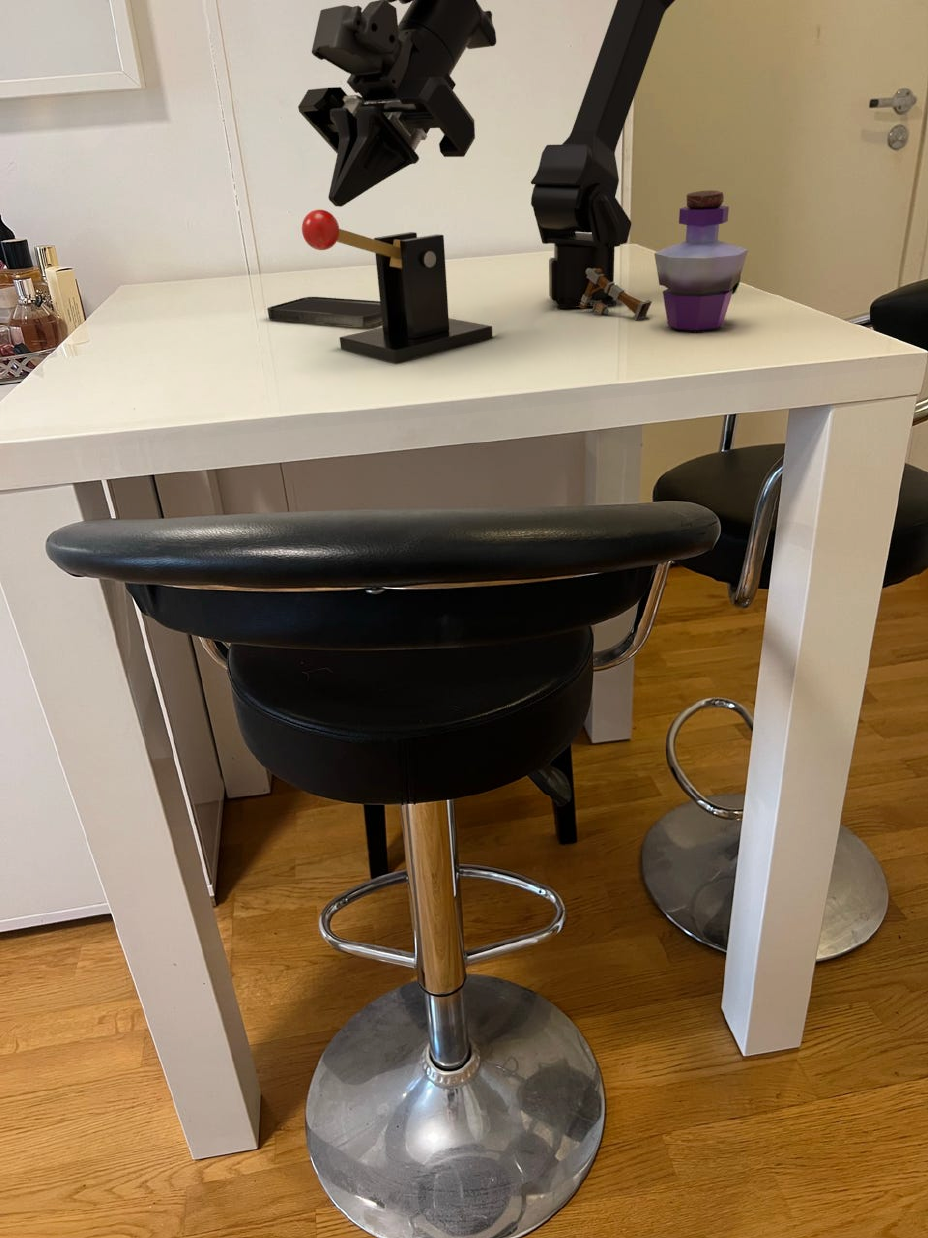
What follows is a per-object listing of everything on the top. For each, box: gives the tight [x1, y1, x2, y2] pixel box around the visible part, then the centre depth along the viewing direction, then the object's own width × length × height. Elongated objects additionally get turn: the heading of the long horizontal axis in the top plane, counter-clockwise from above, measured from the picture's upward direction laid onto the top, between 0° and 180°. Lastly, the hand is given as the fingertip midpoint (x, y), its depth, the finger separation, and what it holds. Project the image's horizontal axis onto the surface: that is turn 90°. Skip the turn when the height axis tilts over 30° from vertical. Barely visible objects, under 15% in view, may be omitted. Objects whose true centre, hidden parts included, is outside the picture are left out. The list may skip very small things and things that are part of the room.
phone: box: [266, 296, 382, 328], centre depth 100 cm, size 8×1×15 cm
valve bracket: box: [339, 231, 494, 364], centre depth 85 cm, size 12×9×10 cm
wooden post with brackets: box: [578, 268, 653, 321], centre depth 93 cm, size 2×8×4 cm, turn 48°
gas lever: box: [301, 209, 402, 270], centre depth 79 cm, size 13×3×3 cm, turn 131°
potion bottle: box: [654, 189, 749, 334], centre depth 84 cm, size 9×9×12 cm
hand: (334, 202), depth 76 cm, fingers closed
